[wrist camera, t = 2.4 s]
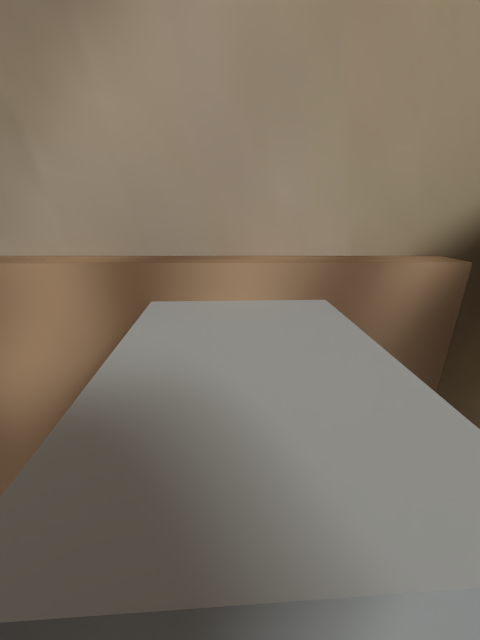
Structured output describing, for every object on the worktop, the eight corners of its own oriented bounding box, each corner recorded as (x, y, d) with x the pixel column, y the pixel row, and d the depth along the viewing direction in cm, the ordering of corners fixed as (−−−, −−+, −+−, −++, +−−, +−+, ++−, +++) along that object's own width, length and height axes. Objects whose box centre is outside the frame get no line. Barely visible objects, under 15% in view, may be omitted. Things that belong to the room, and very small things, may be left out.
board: (440, 255, 11) (506, 269, 8) (370, 551, 17) (397, 612, 14) (-242, 256, 10) (-409, 272, 7) (-67, 578, 15) (-124, 652, 13)
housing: (325, 299, 10) (653, 575, 2) (310, 437, 12) (464, 825, 4) (151, 301, 9) (-103, 631, 2) (165, 442, 11) (62, 873, 4)
